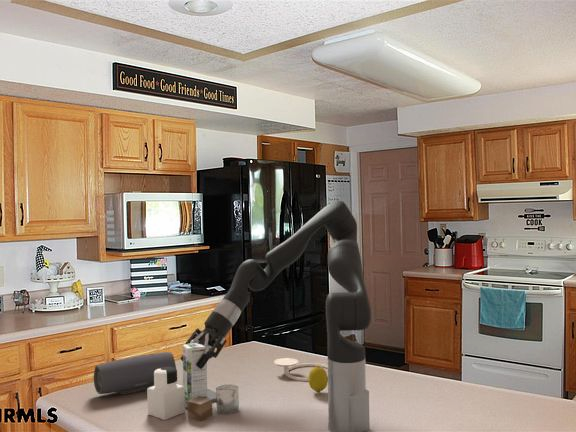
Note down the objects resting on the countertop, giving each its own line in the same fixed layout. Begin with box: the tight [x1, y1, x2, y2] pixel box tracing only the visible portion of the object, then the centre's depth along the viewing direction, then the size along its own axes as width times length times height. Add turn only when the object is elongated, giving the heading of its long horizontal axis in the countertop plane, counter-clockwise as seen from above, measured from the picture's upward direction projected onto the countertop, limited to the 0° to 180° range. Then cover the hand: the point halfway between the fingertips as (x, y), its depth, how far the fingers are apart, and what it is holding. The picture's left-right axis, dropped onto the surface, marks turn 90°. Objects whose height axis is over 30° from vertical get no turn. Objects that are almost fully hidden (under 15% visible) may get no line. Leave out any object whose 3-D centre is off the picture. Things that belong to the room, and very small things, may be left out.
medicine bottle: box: [146, 367, 186, 421], centre depth 146 cm, size 7×7×12 cm
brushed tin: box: [215, 383, 240, 415], centre depth 148 cm, size 6×6×6 cm
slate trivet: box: [185, 388, 216, 410], centre depth 157 cm, size 12×12×1 cm
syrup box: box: [182, 342, 208, 400], centre depth 157 cm, size 6×6×14 cm
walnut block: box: [187, 396, 213, 423], centre depth 143 cm, size 4×4×4 cm
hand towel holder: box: [273, 357, 328, 383], centre depth 178 cm, size 17×4×21 cm
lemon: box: [308, 366, 328, 394], centre depth 160 cm, size 6×6×8 cm
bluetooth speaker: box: [93, 351, 177, 395], centre depth 166 cm, size 23×9×10 cm, turn 126°
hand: (190, 364), depth 156 cm, fingers open, 8 cm apart
